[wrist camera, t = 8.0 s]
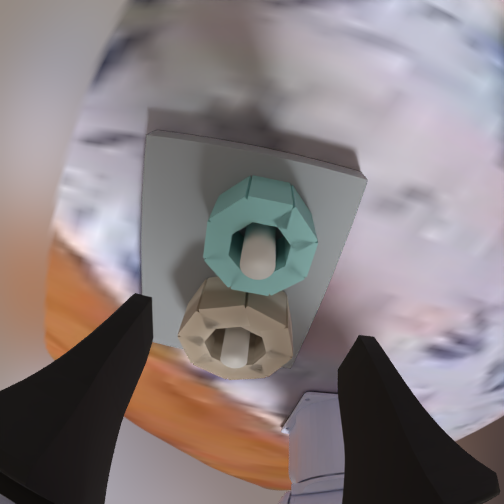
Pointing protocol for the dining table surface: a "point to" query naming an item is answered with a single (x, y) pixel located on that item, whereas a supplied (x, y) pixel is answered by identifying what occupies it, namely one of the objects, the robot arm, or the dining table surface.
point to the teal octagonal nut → (268, 213)
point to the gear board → (255, 235)
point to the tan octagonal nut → (237, 315)
